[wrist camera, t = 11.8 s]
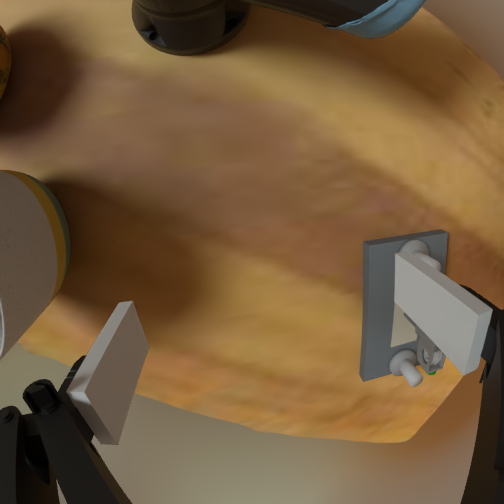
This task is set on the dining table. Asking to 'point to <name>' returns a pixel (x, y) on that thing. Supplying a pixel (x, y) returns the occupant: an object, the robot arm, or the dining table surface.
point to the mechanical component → (427, 351)
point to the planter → (29, 253)
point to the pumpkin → (4, 61)
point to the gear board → (393, 305)
